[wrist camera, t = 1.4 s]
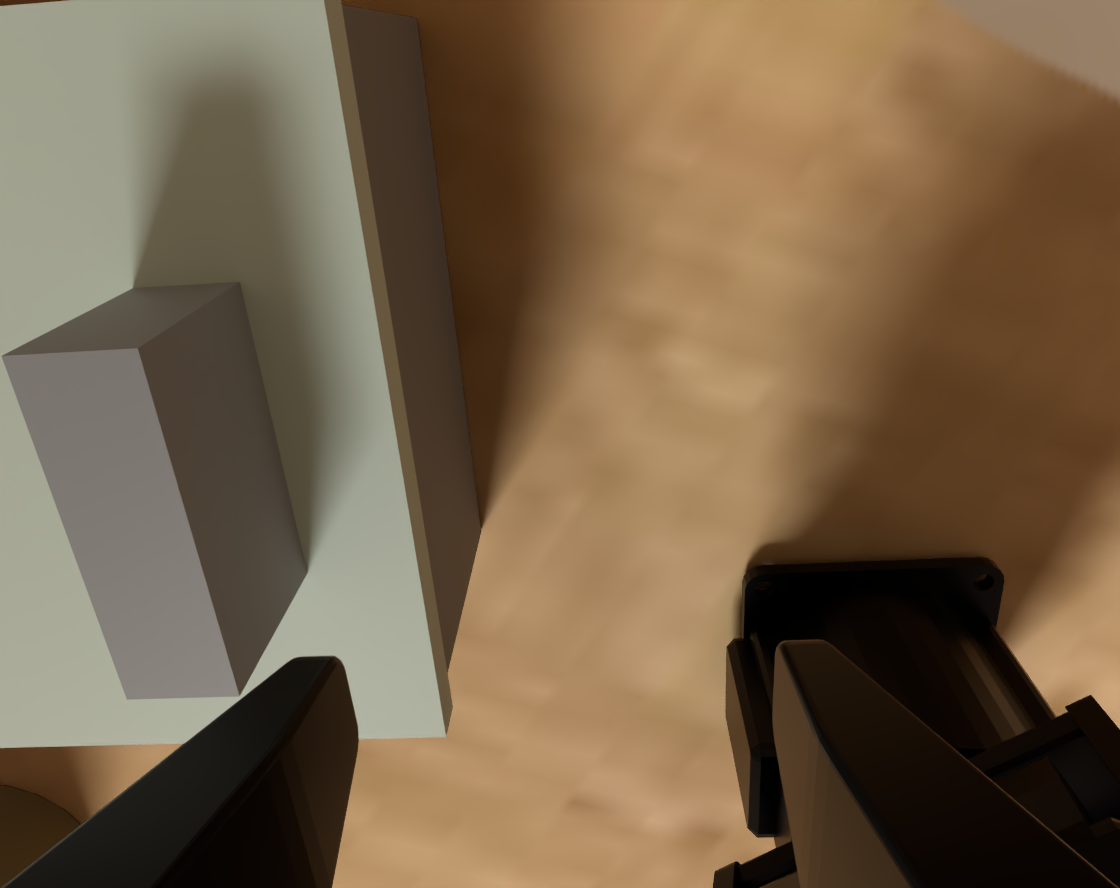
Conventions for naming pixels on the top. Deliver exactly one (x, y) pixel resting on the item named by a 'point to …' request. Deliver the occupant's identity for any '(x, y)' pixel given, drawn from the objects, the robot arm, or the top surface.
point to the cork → (28, 830)
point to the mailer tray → (418, 293)
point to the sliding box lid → (197, 379)
